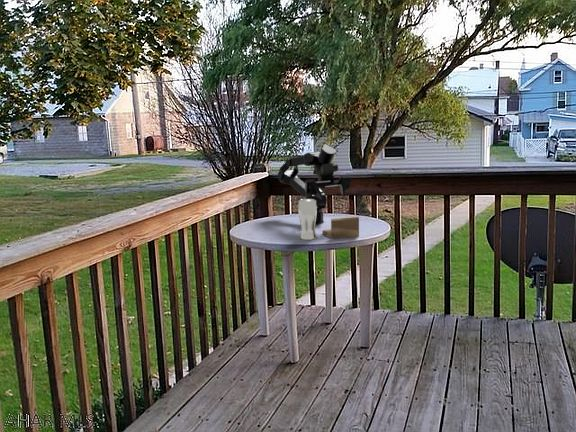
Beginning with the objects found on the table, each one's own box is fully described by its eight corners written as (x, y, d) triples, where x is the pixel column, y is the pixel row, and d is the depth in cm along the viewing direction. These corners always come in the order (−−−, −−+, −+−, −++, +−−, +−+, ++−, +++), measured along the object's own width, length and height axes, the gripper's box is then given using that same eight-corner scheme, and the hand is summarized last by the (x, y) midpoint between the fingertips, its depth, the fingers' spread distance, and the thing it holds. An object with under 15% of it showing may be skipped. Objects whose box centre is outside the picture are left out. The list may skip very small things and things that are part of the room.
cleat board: (322, 233, 223) (322, 214, 222) (347, 231, 227) (347, 212, 225) (332, 238, 213) (332, 219, 212) (358, 236, 217) (358, 217, 216)
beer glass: (298, 237, 218) (297, 199, 216) (315, 236, 219) (315, 198, 216) (300, 240, 212) (299, 201, 209) (318, 240, 212) (317, 201, 209)
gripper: (302, 160, 228) (312, 185, 217) (346, 155, 231) (357, 179, 220) (301, 181, 235) (310, 206, 224) (343, 176, 239) (354, 200, 228)
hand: (333, 197), depth 224 cm, fingers open, 9 cm apart
